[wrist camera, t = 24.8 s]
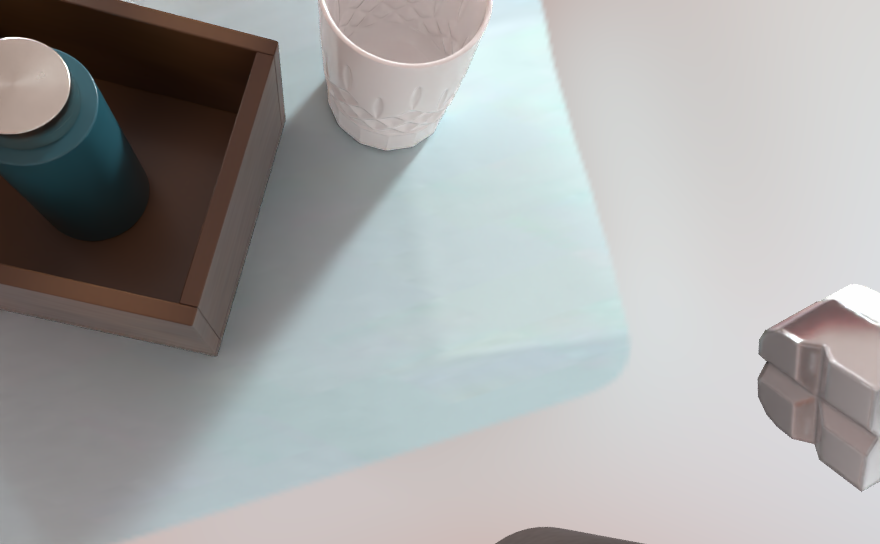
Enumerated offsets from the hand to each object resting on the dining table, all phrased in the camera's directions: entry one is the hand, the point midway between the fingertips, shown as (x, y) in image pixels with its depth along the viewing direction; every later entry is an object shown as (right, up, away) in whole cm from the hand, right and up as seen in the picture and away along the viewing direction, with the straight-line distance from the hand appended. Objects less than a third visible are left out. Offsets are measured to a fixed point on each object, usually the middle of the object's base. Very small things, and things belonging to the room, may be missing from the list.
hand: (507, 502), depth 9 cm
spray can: (-18, +7, +29) cm, 35 cm away
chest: (-18, +7, +30) cm, 36 cm away
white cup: (-4, +13, +34) cm, 37 cm away
